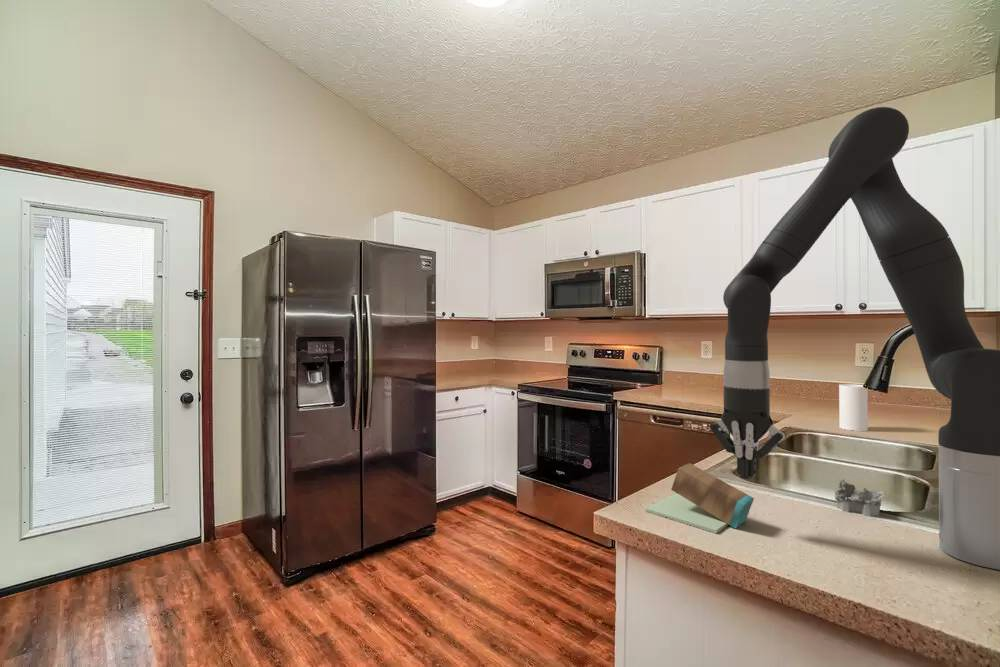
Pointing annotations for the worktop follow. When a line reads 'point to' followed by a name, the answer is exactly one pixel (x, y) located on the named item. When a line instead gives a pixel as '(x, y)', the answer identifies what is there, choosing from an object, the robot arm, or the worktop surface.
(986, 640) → the worktop surface
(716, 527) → the sage mat
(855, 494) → the grey miniature model
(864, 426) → the cup
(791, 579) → the worktop surface
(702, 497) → the walnut block
